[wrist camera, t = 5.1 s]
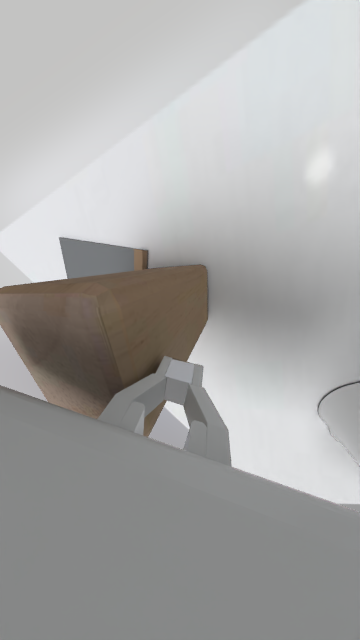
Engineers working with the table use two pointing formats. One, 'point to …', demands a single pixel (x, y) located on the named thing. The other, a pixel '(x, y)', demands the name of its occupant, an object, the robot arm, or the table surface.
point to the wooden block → (104, 331)
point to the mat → (100, 258)
